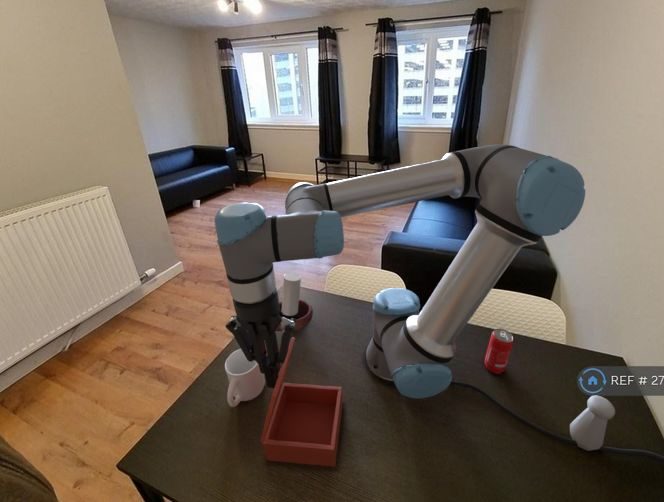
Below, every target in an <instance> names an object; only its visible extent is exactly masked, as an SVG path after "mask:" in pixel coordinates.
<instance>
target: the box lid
mask: <svg viewBox="0 0 664 502" xmlns="http://www.w3.org/2000/svg"><path fill="white" fill-rule="evenodd" d="M295 341H296V338H295V337H290V342H289V348H288V353H287V356H286V359H285V361H284V363H283V364H281V367H280V370H279V373H278V379H277V382H276V385H275V388H273V390H272V394H271V397H270V401H269V405H268V410H267V413H266V416H265V421H264V426H263V428H262V432H261V433H262V434H261V437H260V442H261V443H263V442H264V441H265V438H266V435H267V432H268V429H269V426H270V423H271V419H272V416H273V413H274V410H275V407H276V404H277V401H278V398H279V394H280V391H281V388H282V385H283V383H285V379H286V374H287V370H288V367H289V364H290V360H291V356H292V351H293V348H294V344H295Z"/></svg>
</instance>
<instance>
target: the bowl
mask: <svg viewBox="0 0 664 502" xmlns="http://www.w3.org/2000/svg"><path fill="white" fill-rule="evenodd" d="M279 306H280V310H281V308H282V301H279ZM283 315H284V314H283ZM313 315H314V309H313V307H312V305H311V304H310V303H308V302H307V301H306V300H303V299H300V298H299V307H298V313H297V314H295V315H293V316H287V315H284V316H283V317H285V318H287V319H289V320H290V319H291V318H294V319H296V324H295V327H294V330H293V332H299V331H302V330H303V329H305V328H306V327H307V326H308V325H309V324H310V323H311V321H312V319H313ZM281 327H282V325H281V324H280V325H279V326H278V327H277V328H276V330H275V332H282V329H281ZM293 332H292V333H293Z"/></svg>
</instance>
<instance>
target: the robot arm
mask: <svg viewBox="0 0 664 502" xmlns="http://www.w3.org/2000/svg"><path fill="white" fill-rule="evenodd" d="M445 196H449V197H451V198H452V199H459V198H464V197H465V198H466V197H470V198H476V199H480V202H479V204H478V205H477V207H476V208H475V211H474V214H475V216H476V220H477V221H476V224H475V225H474V227H473V229H472V230H471V232H470V233H469V235H468V237H467V239H465V241H464V243H463V245H462V246H461V247H460V249H459V251H458V252H457V254H456V256H455V257H454V259H453V260H452V262H451V264H450V265H449V266H448V268H447V270H446V271H445V273H444V275H443V276H442V278H441V279H440V281H439V282H438V283H437V286H435V288H434V290H433V292H432V293H431V295H430V296H429V298H428V300H427V301H426V303H425V304H424V306H423V307H422V309H421V310H420V308H421V304H420V298H419V296H418V295H417V294H416V293H414V292H413V291H412V290H409V289H407V288H403V287H389V288H384V289H382V290H380V291H379V292H378V293H377V294H375V295H374V298H373V305H372V338H371V339H370V342H369V344H368V345H367V347H366V350H365V362H366V366H367V368H368V369H369V372H371V373H372V375H373V376H374V377H376V378H377V379H379V380H381V381H384V382H387V383H392V384H394V385H395V387H396V390H398V392H399V393H400V394H401V395H402V396H405V397H406V398H410V399H426V398H430V397H433V396H436V395H439V394H440V393H442V392H444V391H445V390H446V389H447V388H448V387H449V386H450V385H455V386H456V385H457V386H462V387H467V388H470V389H472V390H475V391H477V392H478V393H481V394H482V395H483V396H485V397H486V398H487V399H489V400H490V401H491V402H492V403H494V404H495V405H496V406H497V407H499V408H500V409H502V410H504V411H505V412H506V413H508V414H510V415H511V416H513V417H514V418H515V419H517V420H519V421H521V422H522V423H524V424H525V425H527V426H529V427H530V428H533V429H535V430H536V431H538V432H541V433H543V434H545V435H547V436H549V437H552V438H554V439H556V440H558V441H561V442H565V443H568V444H571V445H575V446H577V445H578V444H577V442H576V441H575V440H573V439H572V438H569V437H565V436H564V435H561V434H558V433H555V432H554V431H553V432H552V431H550V430H548V429H545V427H541V426H539V425H537V424H536V423H533V422H531V421H530V420H528V419H526V418H524V417H523V416H521V415H520V414H518V413H516V412H515V411H513V410H512V409H510V408H508V407H507V406H505V405H504V404H502V403H501V402H499V401H498V400H497V399H496V398H495V397H493V396H492V395H491V394H489V392H487V391H485V390H484V389H483V388H480V387H479V386H477V385H474V384H472V383H469V382H464V381H458V380H453V376H452V370H451V369H450V367H449V364H450V362H451V361H452V359H453V358H454V357H455V355H456V353H457V346H456V343H455V341H456V339H457V338H458V337H459V335H461V332H462V331H463V330H464V328H465V327H466V325H467V324H468V323H469V321H470V320H471V318H472V317H473V316H474V314H475V313H476V312H477V310H478V309H479V308H480V306H481V305H482V303H483V302H484V300H485V299H486V298H487V296H488V295H489V294H490V292H491V290H492V289H493V288H494V287H495V285H496V284H497V282H498V281H499V280H500V278H501V276H502V275H503V274H504V272H505V271H506V270H507V269H508V267H509V266H510V264H511V263H512V262H513V260H514V259H515V257H516V256H517V254H518V253H519V252H520V250H521V249H522V248H524V247H526V246H532V245H535V244H537V243H538V242H539V240H540V239H541V238H542V237H551V236H555V235H557V234H559V233H560V232H561V231H565V230H566V229H567V228H569V227H570V226H571V225H572V224H573V223H574V222H575V221H576V219H577V218H578V216H579V215H580V213H581V211H582V208H583V206H584V202H585V198H586V188H585V180H584V177H583V175H582V174H581V172H580V171H579V170H578V169H577V168H576V167H575V166H574V165H572V164H570V163H568V162H565V161H563V160H561V159H559V158H558V157H553V156H551V155H546V154H542V153H538V152H535V151H533V150H528V149H525V148H521V147H518V146H515V145H513V144H505V143H504V144H503V143H501V144H488V145H483V146H477V147H471V148H467V149H461V150H456V151H451V152H448V153H446V154H444V156H443V157H442V158H441V159H438V160H432V161H428V162H423V163H418V164H413V165H409V166H404V167H398V168H394V169H390V170H385V171H380V172H375V173H369V174H367V175H366V174H365V175H361V176H356V177H352V178H347V179H342V180H341V179H340V180H336V181H331V182H328V183H326V182H325V183H320V184H313V183H311V182H307V181H301V182H297V183H295V184H293V186H292V187H291V188H290V189H289V190H288V192H287V195H286V197H285V200H284V201H285V202H284V208H285V209H284V210H285V214H281V215H267V213H266V211H265V208H264V207H263V206H262V205H261V204H259V203H258V202H257V203H256V202H246V201H245V202H237V203H232V204H229V205H226V206H224V207H223V208H221V209H219V210H218V211H217V213H216V214H215V215H214V221H213V222H214V227H215V233H216V238H217V240H216V242H217V245H218V247H219V251H220V255H221V258H222V262H223V266H224V270H225V273H226V278H227V279H226V280H227V283H228V287H229V293H230V296H231V298H232V304H233V307H234V312H235V314H232V315H231V316H230V318H229V319H228V321H227V322H226V324H225V329H226V330H227V331H228V332H230V333H231V334H232V335H233V337H234V340H235V341H236V342H237V344H238V346H239V349H241V350H242V351H243V353H244V355H245V357H246V358H247V360H248V361H250V362H252V361H253V360H254V361H256V362H257V363H258V364H259V369H260V372H261V373H263V374H264V379H265V384H266V388H268V389H274V388H275V385H276V382H277V379H278V376H279V373H280V370H281V367H282V364H283V363H284V361H285V359H286V356H287V353H288V348H289V344H290V341H291V335H292V334H293V330H294V327H295V324H296V319H294V318H291V319H290V320H289V319H287V318H285V317H283V316H284V315H283V313H282V311H281V310H280V306H279V303H280V298H279V292H278V287H277V281H276V275H275V270H274V269H275V268H274V263H282V262H290V261H300V260H301V261H302V260H313V259H318V260H319V259H320V260H321V259H323V258H326V257H332V256H333V257H334V256H338V255H340V254H342V253H343V250H344V247H345V234H344V226H343V220H342V218H346V217H352V216H357V215H360V214H365V213H370V212H375V211H379V210H385V209H389V208H394V207H398V206H403V205H408V204H413V203H416V202H421V201H422V202H423V201H428V200H431V199H436V198H440V197H441V198H442V197H445ZM280 324H281V325H282V327H281V329H282V331H281V332H282V335H281V340H280V346H279V344H278V339H277V331H275V330H276V328H277V327H278V326H279V325H280ZM250 350H251V351H250ZM596 451H600V452H608V453H613V454H614V453H615V454H620V455H633V456H635V455H636V456H646V457H650V458H654V459H657V460H659V461H662V462H664V456H663V455H661V454H658V453H655V452H653V451H649V450H643V449H631V448H618V447H611V446H604V445H602V446H601V447H600V448H599V449H596Z"/></svg>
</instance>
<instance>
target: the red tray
mask: <svg viewBox="0 0 664 502" xmlns="http://www.w3.org/2000/svg"><path fill="white" fill-rule="evenodd" d="M343 401H344V400H343V387H342V386H331V385H330V386H329V385H316V384H303V383H302V384H301V383H289V382H283V385H282V388H281V391H280V394H279V398H278V401H277V404H276V407H275V410H274V413H273V416H272V419H271V423H270V426H269V429H268V432H267V435H266V438H265V441H264V442H262V447H263V451H264V455H265V458H266V461H273V462H283V463H291V464H292V463H294V464H302V465H313V466H325V467H336V464H337V463H336V462H337V455H338V445H339V439H340V429H341V420H342V414H343V413H342V412H343V404H344V402H343Z"/></svg>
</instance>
